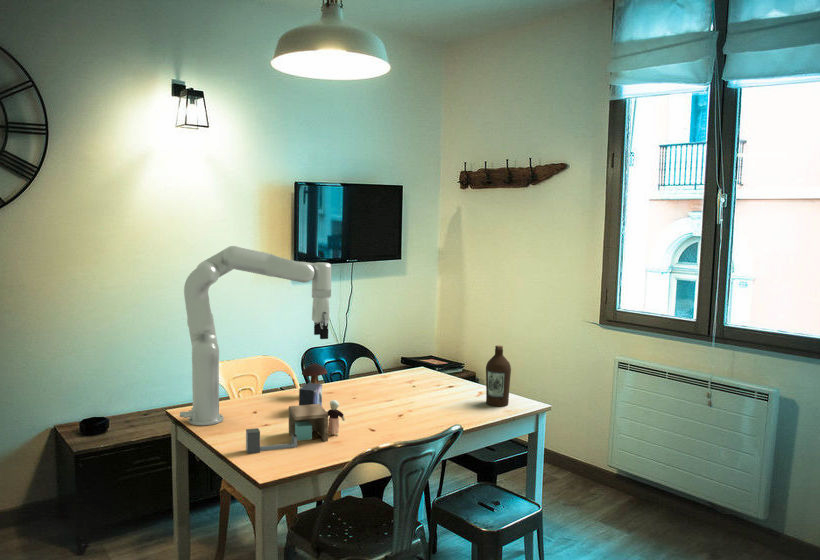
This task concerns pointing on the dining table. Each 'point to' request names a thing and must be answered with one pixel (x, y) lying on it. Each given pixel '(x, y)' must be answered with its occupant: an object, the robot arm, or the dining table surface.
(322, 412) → the cubby
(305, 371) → the decorative mushroom
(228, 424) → the dining table surface
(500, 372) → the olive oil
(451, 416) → the dining table surface
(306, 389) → the small box
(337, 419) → the grandmother figurine
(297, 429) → the block
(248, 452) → the grey long piece
